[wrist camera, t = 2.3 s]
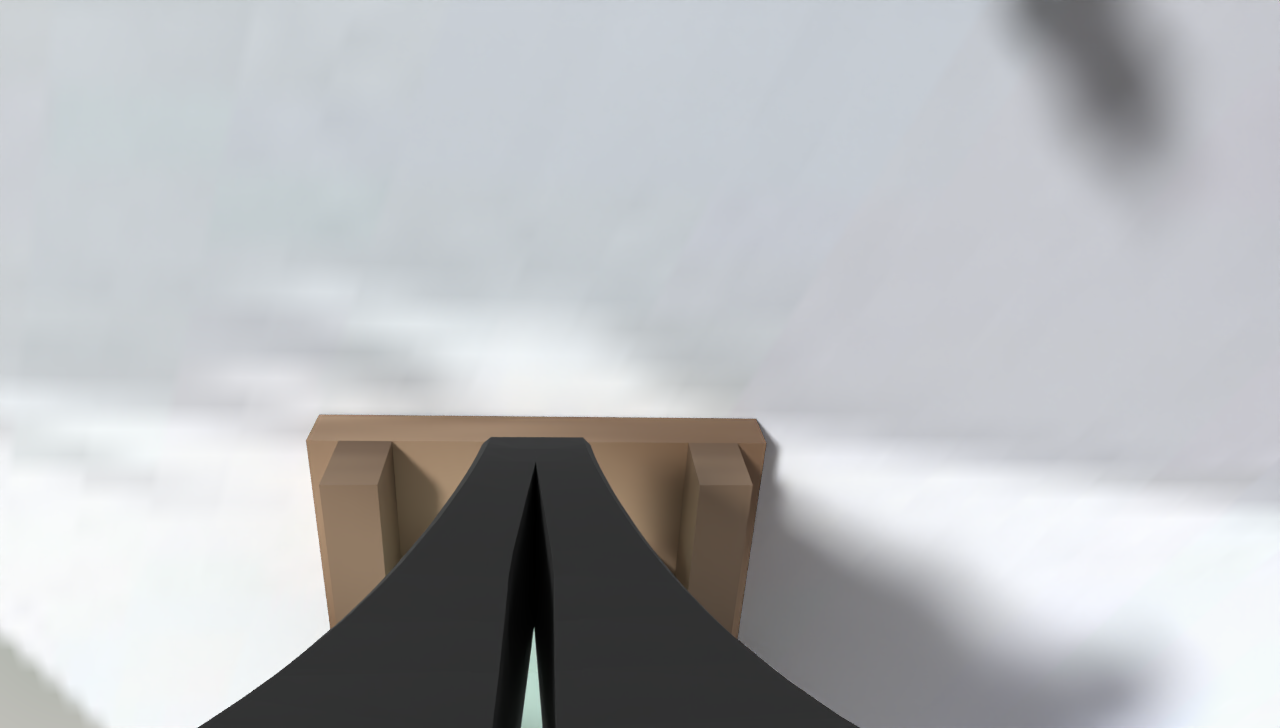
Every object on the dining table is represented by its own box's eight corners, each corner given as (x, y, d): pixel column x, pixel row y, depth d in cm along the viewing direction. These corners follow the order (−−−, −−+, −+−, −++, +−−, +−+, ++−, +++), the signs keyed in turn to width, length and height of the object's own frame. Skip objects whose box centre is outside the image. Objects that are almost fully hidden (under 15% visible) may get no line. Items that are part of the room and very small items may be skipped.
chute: (699, 822, 24) (721, 955, 20) (369, 836, 23) (339, 978, 20) (755, 418, 18) (798, 517, 15) (319, 415, 17) (265, 519, 14)
